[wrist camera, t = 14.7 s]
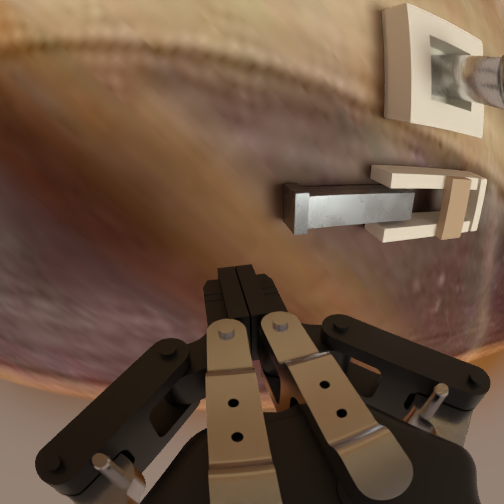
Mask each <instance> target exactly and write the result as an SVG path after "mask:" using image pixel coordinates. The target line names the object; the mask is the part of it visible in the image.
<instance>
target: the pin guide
mask: <svg viewBox="0 0 504 504" xmlns="http://www.w3.org/2000/svg"><path fill="white" fill-rule="evenodd" d="M370 179H373V180H375V181H377V182H379V183H381V184H383V185H385V186H387V187H389V188H430V189H444V194H443V200H442V205H441V210H440V211H432V212H415V213H412V214H411V219H410V220H401V221H389V222H377V223H365V229H366V230H367V231H369V232H370V233H371V234H372V235H374V236H375V237H376V238H377V239H379V240H380V241H381V242H382V243H383V242H391V241H399V240H407V239H415V238H423V237H430V236H436V237H437V238H439V239H440V240H445V239H452V238H459V237H460V235H461V232H468V230H469V231H476V230H477V226H478V222H479V218H480V214H481V209H482V205H483V200H484V195H485V189H486V183H487V179H486V178H483V177H481V176H478V175H476V174H474V173H471V172H469V171H459V170H452V169H441V168H428V167H413V166H394V165H371V176H370Z"/></svg>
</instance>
